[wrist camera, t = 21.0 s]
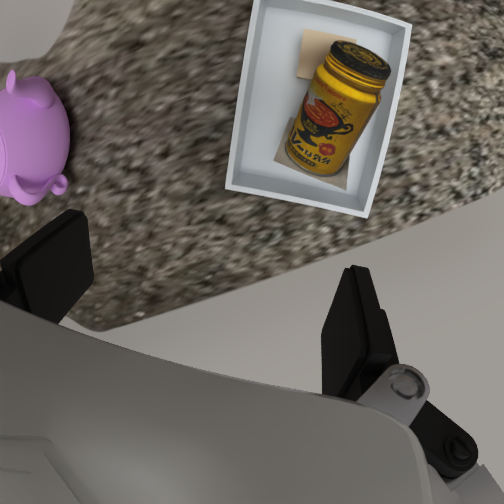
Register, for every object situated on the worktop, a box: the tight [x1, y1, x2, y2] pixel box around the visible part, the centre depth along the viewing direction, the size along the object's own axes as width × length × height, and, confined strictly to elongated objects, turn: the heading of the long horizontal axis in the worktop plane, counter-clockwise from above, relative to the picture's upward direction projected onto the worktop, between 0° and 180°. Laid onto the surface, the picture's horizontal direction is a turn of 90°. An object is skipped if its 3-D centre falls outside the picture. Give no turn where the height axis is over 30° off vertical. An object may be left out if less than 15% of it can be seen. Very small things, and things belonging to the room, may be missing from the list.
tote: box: [225, 0, 412, 218], centre depth 30 cm, size 21×15×6 cm
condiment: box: [273, 40, 391, 191], centre depth 26 cm, size 7×8×12 cm
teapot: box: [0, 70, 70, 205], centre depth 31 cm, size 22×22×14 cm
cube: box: [297, 29, 357, 81], centre depth 28 cm, size 5×5×5 cm
